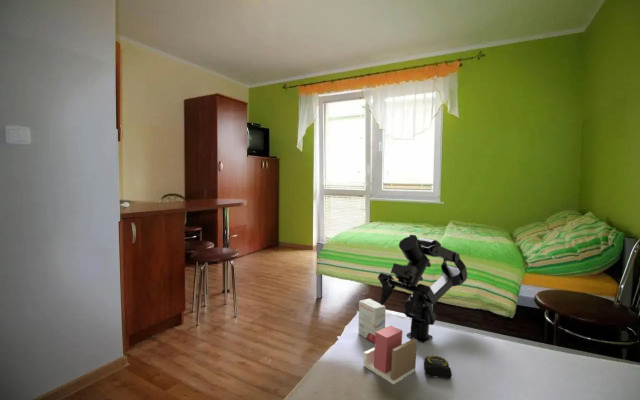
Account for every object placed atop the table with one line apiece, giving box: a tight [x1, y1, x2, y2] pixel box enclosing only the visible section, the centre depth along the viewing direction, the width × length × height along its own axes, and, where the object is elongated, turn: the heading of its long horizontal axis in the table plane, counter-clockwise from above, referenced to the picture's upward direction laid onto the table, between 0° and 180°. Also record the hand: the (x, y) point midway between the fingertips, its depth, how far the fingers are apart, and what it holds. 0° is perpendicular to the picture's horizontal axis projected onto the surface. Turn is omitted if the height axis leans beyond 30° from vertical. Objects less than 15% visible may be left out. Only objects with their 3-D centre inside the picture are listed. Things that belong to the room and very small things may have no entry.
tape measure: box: [423, 354, 453, 380], centre depth 87 cm, size 7×7×4 cm
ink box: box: [358, 298, 386, 344], centre depth 106 cm, size 9×5×12 cm, turn 33°
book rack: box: [363, 338, 418, 385], centre depth 88 cm, size 10×10×9 cm
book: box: [374, 325, 403, 374], centre depth 88 cm, size 7×4×10 cm, turn 130°
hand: (392, 309), depth 97 cm, fingers open, 9 cm apart
